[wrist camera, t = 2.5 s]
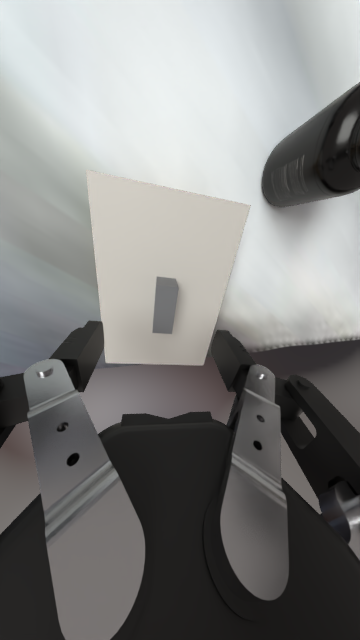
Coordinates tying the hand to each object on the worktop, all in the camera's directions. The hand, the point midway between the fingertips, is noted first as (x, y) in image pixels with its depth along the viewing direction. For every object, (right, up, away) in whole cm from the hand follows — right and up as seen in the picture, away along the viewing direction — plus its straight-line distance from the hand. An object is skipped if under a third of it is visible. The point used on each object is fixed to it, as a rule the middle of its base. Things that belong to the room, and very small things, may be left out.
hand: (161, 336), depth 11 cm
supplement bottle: (+15, +19, +8) cm, 26 cm away
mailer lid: (-1, +5, +9) cm, 11 cm away
